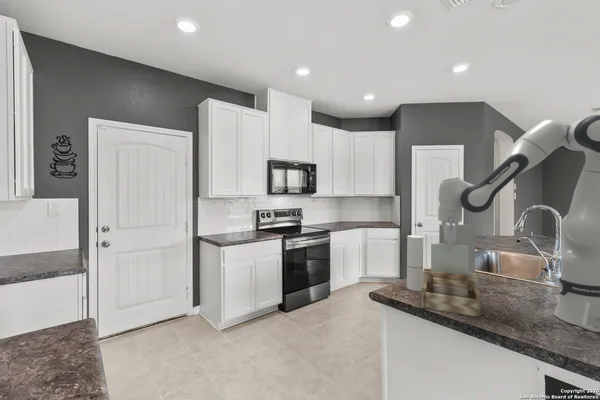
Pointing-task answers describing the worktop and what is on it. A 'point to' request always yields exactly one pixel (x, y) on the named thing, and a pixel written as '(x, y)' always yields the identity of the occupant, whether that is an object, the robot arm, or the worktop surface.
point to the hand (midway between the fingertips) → (449, 249)
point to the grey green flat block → (450, 259)
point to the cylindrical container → (414, 262)
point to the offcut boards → (450, 284)
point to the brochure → (463, 241)
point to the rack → (452, 297)
